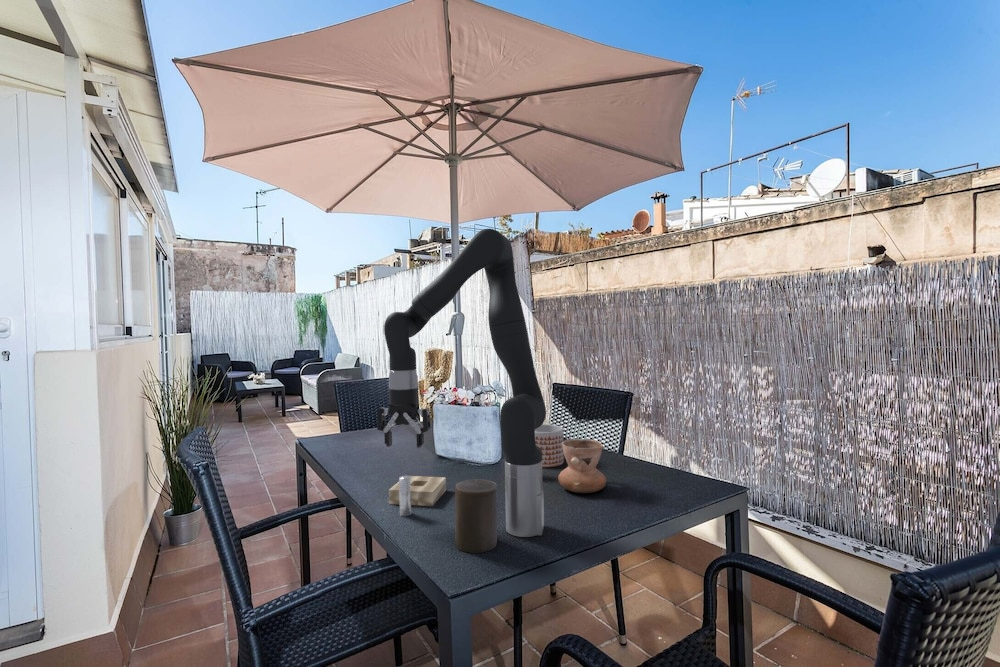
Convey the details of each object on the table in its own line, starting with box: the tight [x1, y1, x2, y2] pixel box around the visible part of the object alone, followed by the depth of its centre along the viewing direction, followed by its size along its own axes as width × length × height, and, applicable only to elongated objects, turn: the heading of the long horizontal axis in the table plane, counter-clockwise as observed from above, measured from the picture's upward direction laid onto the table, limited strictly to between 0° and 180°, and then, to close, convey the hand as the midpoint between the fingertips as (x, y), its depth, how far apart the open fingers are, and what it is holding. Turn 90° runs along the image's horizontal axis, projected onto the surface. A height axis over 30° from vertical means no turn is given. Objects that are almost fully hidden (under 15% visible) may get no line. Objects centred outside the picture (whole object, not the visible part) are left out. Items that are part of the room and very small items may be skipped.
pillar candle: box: [454, 478, 498, 554], centre depth 111 cm, size 10×10×15 cm
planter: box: [535, 423, 565, 469], centre depth 175 cm, size 14×14×13 cm
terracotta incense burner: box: [557, 438, 607, 494], centre depth 147 cm, size 18×14×14 cm
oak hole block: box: [388, 475, 447, 507], centre depth 142 cm, size 13×13×4 cm
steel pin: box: [398, 475, 412, 517], centre depth 129 cm, size 3×3×10 cm
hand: (404, 446), depth 129 cm, fingers open, 8 cm apart
